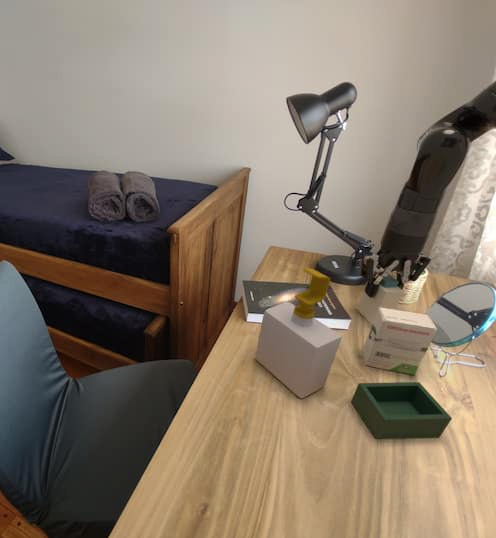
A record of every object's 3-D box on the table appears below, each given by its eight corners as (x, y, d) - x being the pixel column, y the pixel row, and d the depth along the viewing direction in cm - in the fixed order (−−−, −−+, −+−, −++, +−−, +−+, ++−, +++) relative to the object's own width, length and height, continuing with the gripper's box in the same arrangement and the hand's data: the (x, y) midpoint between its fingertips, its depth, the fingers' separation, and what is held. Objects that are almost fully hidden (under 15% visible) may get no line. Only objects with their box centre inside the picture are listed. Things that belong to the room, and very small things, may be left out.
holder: (409, 400, 65) (419, 381, 62) (439, 437, 58) (452, 418, 56) (350, 401, 65) (358, 383, 62) (375, 438, 58) (385, 419, 56)
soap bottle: (253, 358, 74) (273, 259, 63) (276, 348, 77) (299, 251, 65) (300, 401, 65) (334, 294, 53) (325, 387, 67) (363, 282, 56)
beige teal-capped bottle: (372, 308, 89) (387, 270, 83) (389, 325, 83) (406, 285, 77) (356, 309, 88) (370, 271, 83) (372, 325, 83) (388, 286, 77)
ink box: (407, 359, 73) (430, 313, 68) (415, 376, 69) (440, 329, 63) (360, 350, 76) (378, 305, 70) (364, 366, 72) (384, 319, 66)
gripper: (385, 235, 71) (359, 305, 79) (457, 234, 71) (423, 304, 79) (363, 221, 77) (342, 287, 86) (429, 220, 77) (401, 286, 86)
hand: (381, 295), depth 82 cm, fingers open, 5 cm apart
